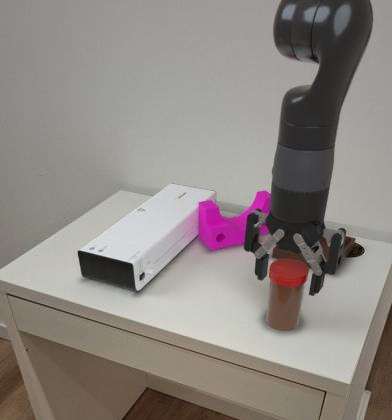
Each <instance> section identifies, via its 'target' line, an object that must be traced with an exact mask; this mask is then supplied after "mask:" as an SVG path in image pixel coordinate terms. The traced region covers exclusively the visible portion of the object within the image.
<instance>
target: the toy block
mask: <svg viewBox="0 0 392 420" xmlns="http://www.w3.org/2000/svg"><path fill="white" fill-rule="evenodd" d="M270 195H271V192H269V191H268V190H264V189H263V190H258V191H256V194H255V197H254V199H253V201H252V203H251V204H250V206H249V207H248V208H247V210H245V211H244V212H242V213H241V214H239V215H237V216H232V217H226V216H223V215H222V213H221V211H220V207H219V206H218V205H217V203H216V204H215V203H214V202H213V201H212V200H207V201H202V202H199V235H198V238H199V239H200V240H201V241H202V242H203V243H204V245H205V246H206V247H207V248H208V249H209V250H210V251H214V250H219V249H224V248H229V247H234V246H238V245H244V241H245V231H246V222H247V216H248V215H249V214H250V213H251V212H252V211H253V210H255V209H256V208H259V209H261V211H262V213H266V214H269V211H270V210H269V205H270ZM265 233H270V232H269V230H268V228H267V227H266V224H265V223H264V224H263V225H262V226H261V227H260V233H259V235H260V234H265Z"/></svg>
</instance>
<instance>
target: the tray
mask: <svg viewBox="0 0 392 420" xmlns="http://www.w3.org/2000/svg"><path fill="white" fill-rule="evenodd" d="M356 239H357V238H356V237H352V236H348V235H346V238H345V244H344V250H343V256H342V262H341V264H342V263H343V262H344V261H345V260H346V258H347V257H348V255H349V254H350V253H351V252H352V250H353V249H354V248H355V245H356ZM319 243H320V245H321V247H322V249H323V255H324V257H325V259H326V261H327V262H328V258H329V251H330V246H328V245H327V241H326V239H325V238H324V237H322V238H321V239H320V240H319ZM311 250H312V248H311ZM271 258H274V259H276V260H278V259H284V258H290V259H296V260H299V261H302V262H304V263H305V264H306V265H307V266H308V267H309V269H312V268H311V266H310V264H309V263H307V262H306V260H305V258H304V256H303V254H302V253H300V254H296V253H294V252H292V251H290V250H282V249H279V247H278V246H277V245H276V244H275V245H274V246H273V247H272V256H271Z"/></svg>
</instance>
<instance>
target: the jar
mask: <svg viewBox="0 0 392 420" xmlns="http://www.w3.org/2000/svg"><path fill="white" fill-rule="evenodd" d="M305 287H306V283H304V284H303V285H300V286H296V287H285V286H281V285H278V284H276V283H274V282H273V281H271V279H270V278H269V288H268V297H267V307H266V316H265V322H266V323H267V325H268V326H269V327H270V328H272V329H274V330H277V331H283V332H284V331H291V330H294V329H296V328H297V327H298V326H299V325H300V324H299V323H300V317H301V311H302V305H303V300H304V293H305Z"/></svg>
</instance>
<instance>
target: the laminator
mask: <svg viewBox="0 0 392 420" xmlns="http://www.w3.org/2000/svg"><path fill="white" fill-rule="evenodd" d="M207 200H212V201H213V202H214V203H215V204H216V205H217V191H216V190H212V189H207V188H202V187H196V186H190V185H185V184H179V183H173V182H171V183H169V184H168V185H166V186H165V187H164V188H162V189H161V190H159V191H158V192H157V193H155V194H154V195H153V196H151V197H150V198H148V199H147V200H146V201H144V202H143V203H142V204H140V205H139V206H138V207H136V208H135V209H133V210H132V211H130V212H129V213H127V214H126V215H125V216H123V218H121V219H120V220H118V221H117V222H115V223H114V224H113V225H111V226H110V227H108V228H107V229H106V230H104V231H103V232H101V233H100V234H99V235H97V236H96V237H94V238H93V239H92V240H90V241H89V242H88V243H86V244H85V245H83V246H82V247H81V248H80V249H78V250H77V258H78V263H79V269H80V273H81V276H82V278H84V279H91V280H94V281H98V282H101V283H105V284H108V285H112V286H116V287H120V288H124V289H127V290H131V291H133V292H134V291H135V292H136V293H139V292H141V291H142V290H143V289H144V288H145V287H146V286H147V285H148V284H150V282H152V280H154V279H155V278H156V277H157V276H158V275H159V274H160V273H161V272H162V271H163V270H164V269H165V268H166V267H168V265H169V264H170V263H171V262H172V261H173V260H174V259H175V258H176V257H177V256H179V255H180V254H181V252H183V251H184V250H185V249H186V247H188V246H189V245H190V244H191V243H192V242H193V241H194V240H195V239H196V238H197V237H199V202H202V201H207Z"/></svg>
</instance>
